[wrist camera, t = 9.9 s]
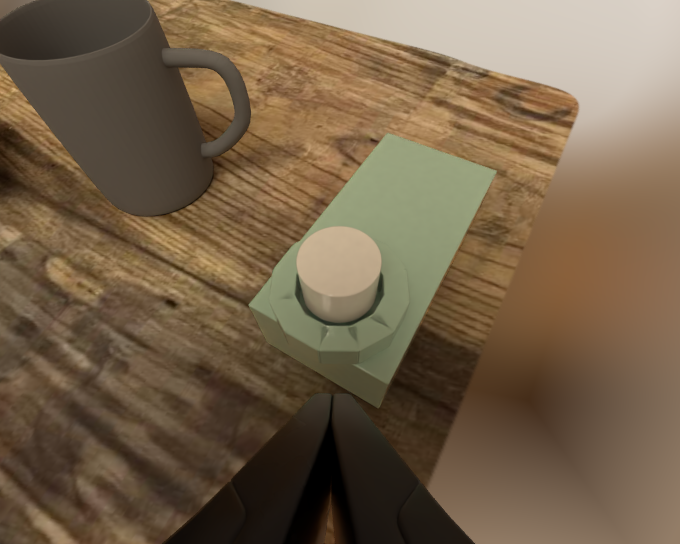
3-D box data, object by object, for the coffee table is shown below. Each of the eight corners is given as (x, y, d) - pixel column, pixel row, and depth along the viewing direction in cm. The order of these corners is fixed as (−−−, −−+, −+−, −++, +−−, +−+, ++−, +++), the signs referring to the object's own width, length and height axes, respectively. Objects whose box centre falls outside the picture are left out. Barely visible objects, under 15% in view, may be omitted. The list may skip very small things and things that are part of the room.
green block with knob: (381, 185, 30) (390, 108, 24) (473, 222, 28) (508, 147, 22) (259, 352, 22) (228, 299, 16) (372, 421, 20) (384, 389, 14)
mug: (88, 218, 28) (-54, 62, 18) (126, 143, 33) (31, -13, 23) (260, 219, 28) (214, 62, 18) (273, 143, 33) (242, -14, 23)
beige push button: (327, 247, 18) (325, 214, 16) (389, 277, 18) (396, 246, 15) (287, 300, 17) (278, 272, 15) (354, 337, 16) (355, 311, 14)
